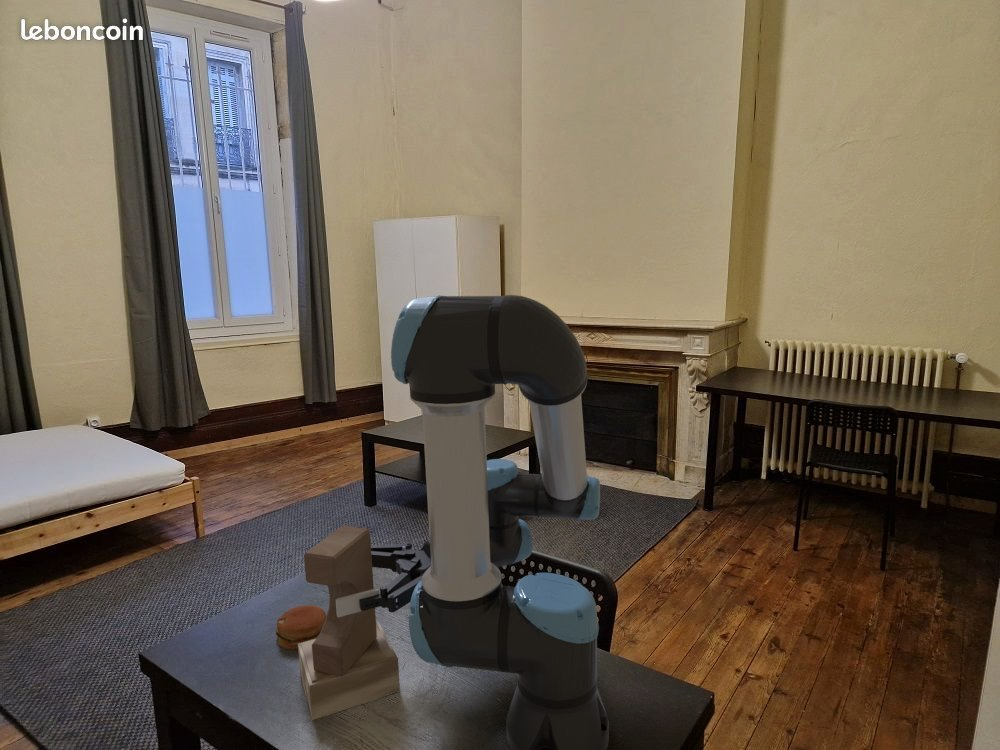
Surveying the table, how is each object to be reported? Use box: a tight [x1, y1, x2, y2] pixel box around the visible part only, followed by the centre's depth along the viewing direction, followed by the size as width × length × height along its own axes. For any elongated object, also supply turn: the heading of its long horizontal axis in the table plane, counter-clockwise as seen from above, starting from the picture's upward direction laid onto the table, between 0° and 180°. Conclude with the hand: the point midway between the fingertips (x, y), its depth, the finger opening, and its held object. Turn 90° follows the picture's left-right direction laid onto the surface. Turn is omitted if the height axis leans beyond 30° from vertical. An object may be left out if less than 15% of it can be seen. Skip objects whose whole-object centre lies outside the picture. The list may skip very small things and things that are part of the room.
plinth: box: [297, 621, 401, 721], centre depth 103 cm, size 12×14×6 cm
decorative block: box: [303, 525, 377, 677], centre depth 99 cm, size 11×6×20 cm, turn 161°
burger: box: [275, 604, 327, 650], centre depth 117 cm, size 10×9×5 cm
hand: (327, 588), depth 99 cm, fingers open, 13 cm apart
